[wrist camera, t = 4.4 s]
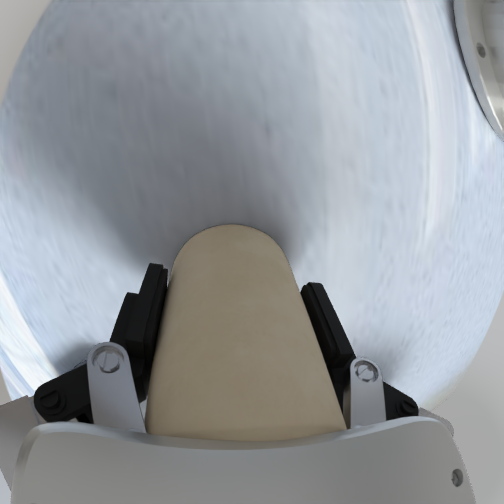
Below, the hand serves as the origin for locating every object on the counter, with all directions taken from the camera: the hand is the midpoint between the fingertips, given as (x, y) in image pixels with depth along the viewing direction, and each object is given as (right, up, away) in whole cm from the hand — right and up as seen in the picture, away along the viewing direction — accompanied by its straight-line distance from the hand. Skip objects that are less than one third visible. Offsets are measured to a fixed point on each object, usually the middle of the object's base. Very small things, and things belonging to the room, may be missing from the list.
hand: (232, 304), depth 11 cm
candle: (0, +1, +2) cm, 2 cm away
